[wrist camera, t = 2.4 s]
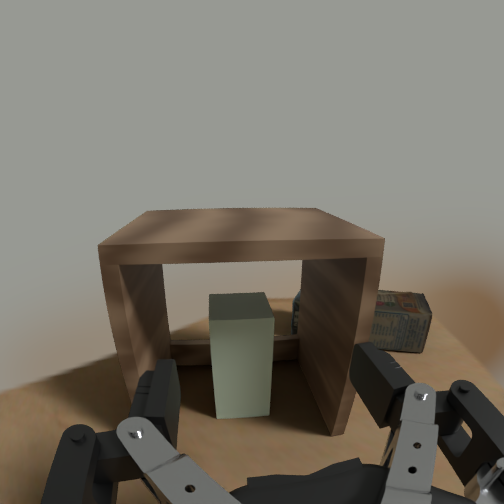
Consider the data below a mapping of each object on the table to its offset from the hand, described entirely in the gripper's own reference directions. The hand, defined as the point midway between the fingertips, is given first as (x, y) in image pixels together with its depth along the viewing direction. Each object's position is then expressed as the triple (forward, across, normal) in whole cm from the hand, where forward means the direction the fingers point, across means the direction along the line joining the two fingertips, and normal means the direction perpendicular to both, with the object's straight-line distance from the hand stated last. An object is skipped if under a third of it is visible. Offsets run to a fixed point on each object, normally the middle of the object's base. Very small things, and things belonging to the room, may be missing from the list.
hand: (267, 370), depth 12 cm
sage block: (+12, 0, +14) cm, 18 cm away
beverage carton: (+23, -17, +14) cm, 32 cm away
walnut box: (+12, 0, +14) cm, 18 cm away
